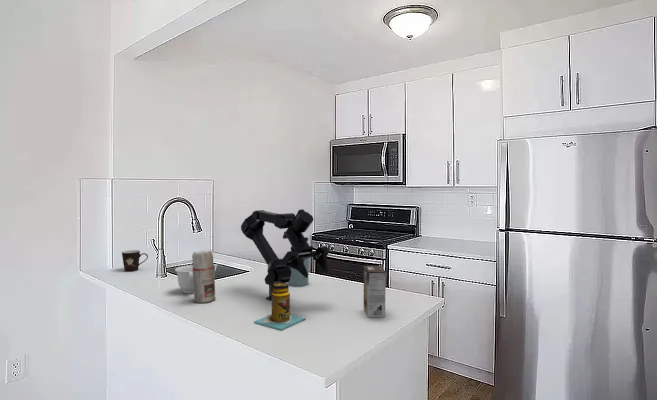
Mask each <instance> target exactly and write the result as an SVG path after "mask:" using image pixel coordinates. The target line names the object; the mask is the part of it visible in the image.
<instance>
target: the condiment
mask: <svg viewBox="0 0 657 400" xmlns="http://www.w3.org/2000/svg"><path fill="white" fill-rule="evenodd" d="M289 286H290V284H289V283H288V282H287V283H275V284H273V292H272V300H271V314H272V315H271V314H267V315H266V316H267V317H266V316H265V317H266V319H265V321H264V323H290V321H291V317H292V315H293V314H291V299H290V298H291V297H290V296H291V293H290V287H289ZM290 314H291V315H290Z"/></svg>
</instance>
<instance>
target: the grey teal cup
mask: <svg viewBox="0 0 657 400" xmlns="http://www.w3.org/2000/svg"><path fill="white" fill-rule="evenodd" d="M304 265H305V268H306V270H307V273H308V277H307V278H306V277H304V276H303V275H302V274H301V273H300V272H299V271H297V270H296V269H293V268H290V269H291V277H290V281H289V282H288V285H289V286H290V287H294V288H295V287H297V288H298V287H299V288H300V287H306V286H308V285H309V274H310V270H309V269H310V268H309V267H310V258H306V259H305V260H304Z"/></svg>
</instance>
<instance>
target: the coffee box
mask: <svg viewBox="0 0 657 400" xmlns="http://www.w3.org/2000/svg"><path fill="white" fill-rule="evenodd" d="M362 266H363V267H362V268H363V269H362V270H363V310H364V312H365V314H366V317H367V318H385V317H386V289H387V287H386V285H387V284H386V283H387V282H386V281H387V280H386V279H387V272H386V270H385V269H384V268H383V267H382V266H381V265H362Z"/></svg>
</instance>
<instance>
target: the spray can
mask: <svg viewBox="0 0 657 400" xmlns="http://www.w3.org/2000/svg"><path fill="white" fill-rule="evenodd" d="M191 258H192V265H193V285H194V293H193V297H194V302H195V303H198V304H199V303H200V304H202V303H203V304H204V303H209V302H210V303H211V302H212V301H214V300H216V284H215V283H216V278H215V276H216V275H215V274H216V273H215V264H214V256H213V250H212V249H204V250H198V251H193V253H192V255H191Z"/></svg>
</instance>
